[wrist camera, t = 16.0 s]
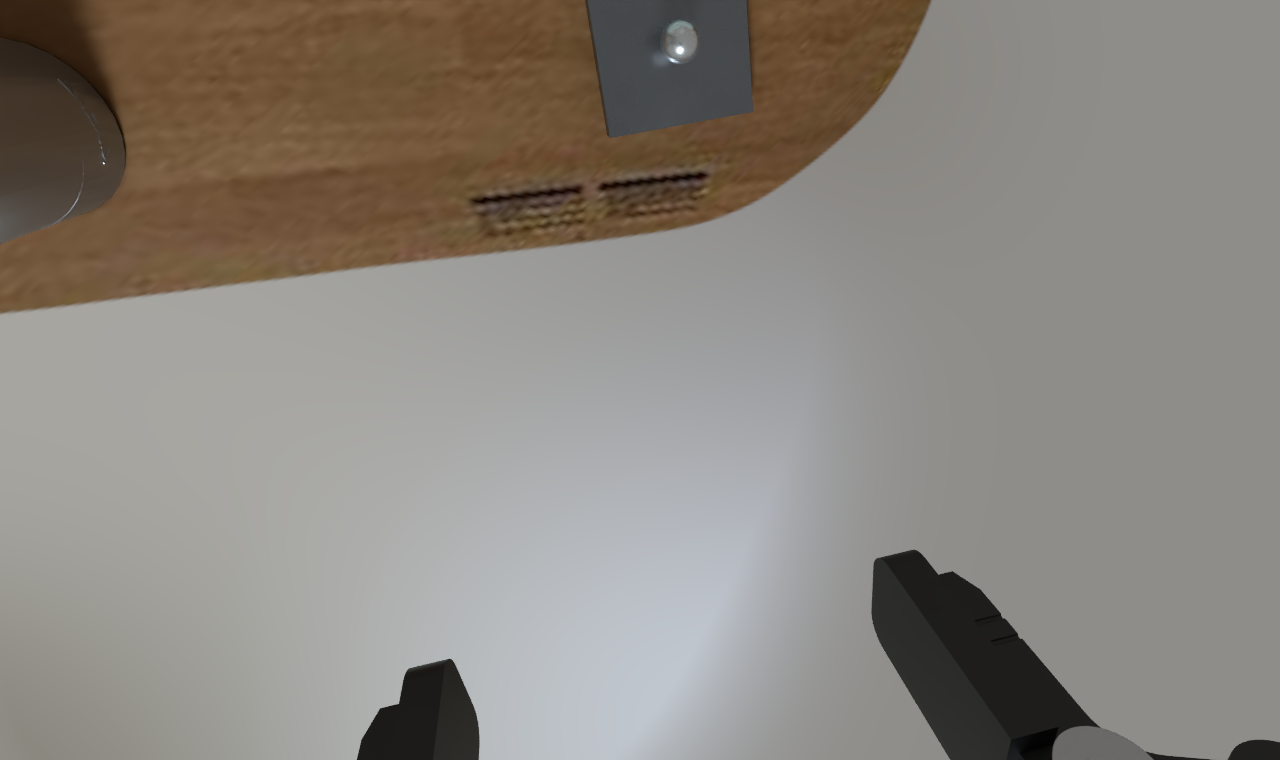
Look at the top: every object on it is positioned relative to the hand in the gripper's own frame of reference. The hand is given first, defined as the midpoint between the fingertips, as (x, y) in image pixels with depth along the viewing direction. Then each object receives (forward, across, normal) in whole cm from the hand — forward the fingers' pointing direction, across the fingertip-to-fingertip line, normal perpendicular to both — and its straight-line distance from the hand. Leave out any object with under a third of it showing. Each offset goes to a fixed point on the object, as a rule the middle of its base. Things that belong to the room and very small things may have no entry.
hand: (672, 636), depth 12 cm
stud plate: (+34, -8, -9) cm, 36 cm away
